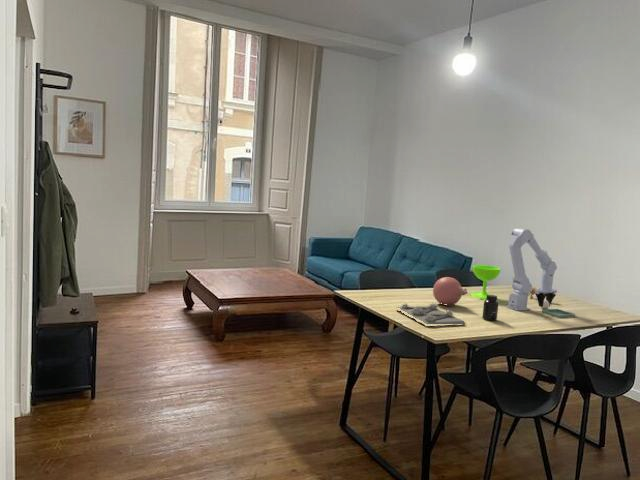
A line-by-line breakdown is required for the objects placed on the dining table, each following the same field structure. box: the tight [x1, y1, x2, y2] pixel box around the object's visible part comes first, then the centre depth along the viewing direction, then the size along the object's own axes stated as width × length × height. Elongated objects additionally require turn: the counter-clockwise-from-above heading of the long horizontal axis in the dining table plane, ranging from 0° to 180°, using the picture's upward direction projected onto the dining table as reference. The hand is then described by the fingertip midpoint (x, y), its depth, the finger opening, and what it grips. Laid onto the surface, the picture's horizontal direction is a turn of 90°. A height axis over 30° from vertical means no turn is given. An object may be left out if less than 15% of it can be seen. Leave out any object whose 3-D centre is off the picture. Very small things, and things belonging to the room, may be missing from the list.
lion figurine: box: [528, 287, 545, 300], centre depth 298 cm, size 15×5×9 cm, turn 34°
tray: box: [541, 308, 576, 319], centre depth 264 cm, size 11×11×1 cm
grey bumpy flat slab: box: [397, 301, 466, 325], centre depth 242 cm, size 30×22×7 cm
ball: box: [540, 299, 550, 310], centre depth 276 cm, size 5×5×5 cm
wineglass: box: [470, 264, 502, 301], centre depth 296 cm, size 16×16×18 cm
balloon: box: [432, 276, 468, 306], centre depth 269 cm, size 15×20×15 cm
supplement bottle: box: [482, 294, 499, 322], centre depth 245 cm, size 7×7×12 cm
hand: (544, 306), depth 276 cm, fingers closed on ball, 5 cm apart
